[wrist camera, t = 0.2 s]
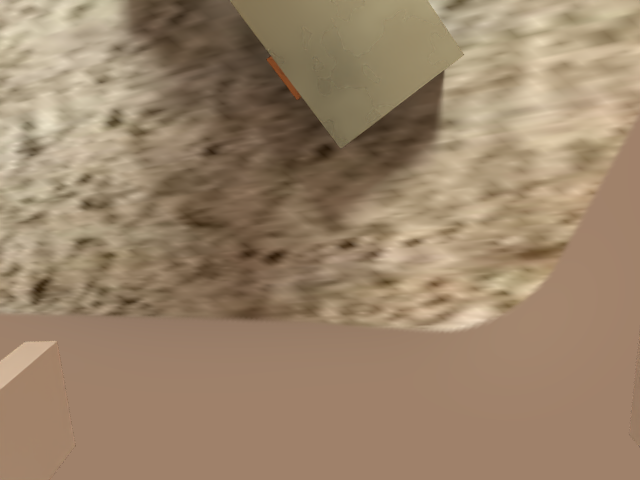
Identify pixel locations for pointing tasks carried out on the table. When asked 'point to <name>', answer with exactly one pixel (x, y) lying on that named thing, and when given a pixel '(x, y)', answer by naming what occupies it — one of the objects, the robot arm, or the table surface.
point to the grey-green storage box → (351, 54)
